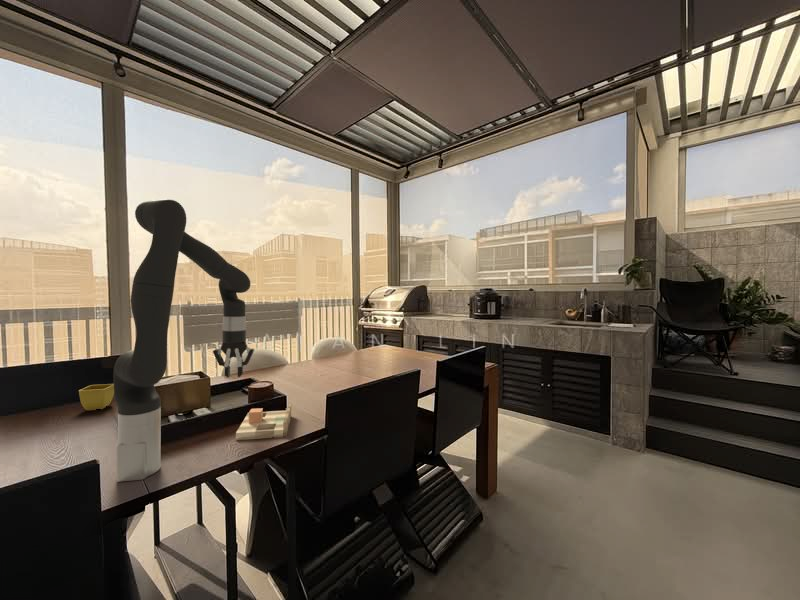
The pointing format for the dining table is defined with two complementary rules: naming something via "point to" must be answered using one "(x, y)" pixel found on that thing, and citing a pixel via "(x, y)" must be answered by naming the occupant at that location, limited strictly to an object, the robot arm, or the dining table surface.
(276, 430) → the board
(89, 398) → the flower pot
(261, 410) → the block
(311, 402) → the dining table surface
